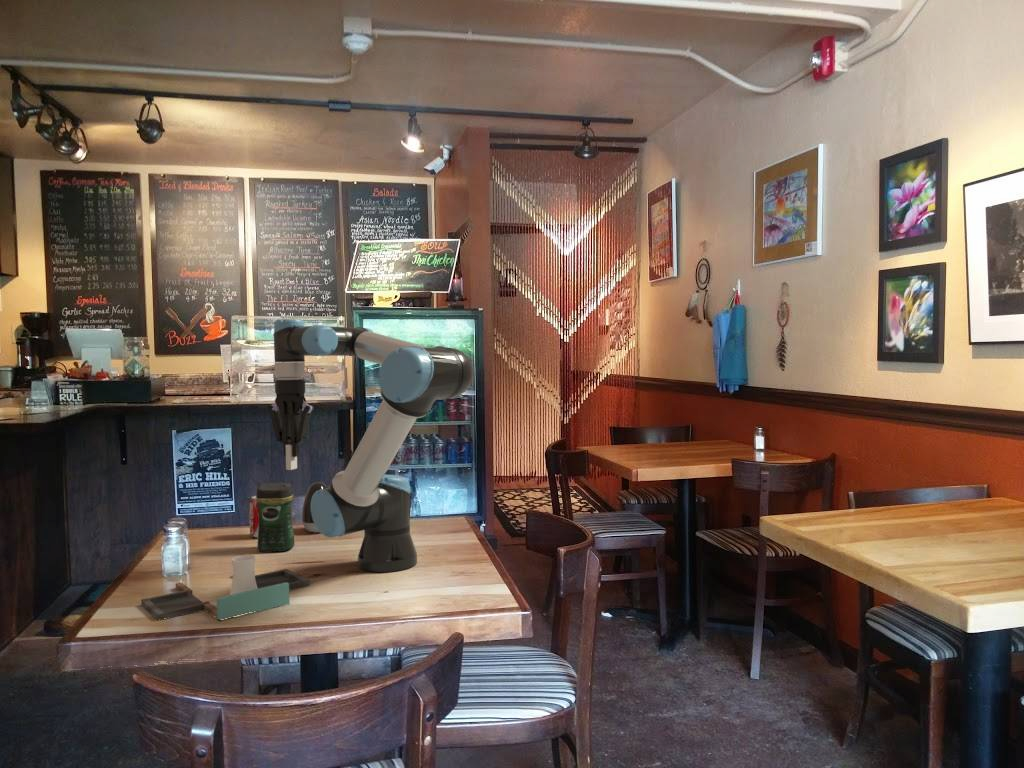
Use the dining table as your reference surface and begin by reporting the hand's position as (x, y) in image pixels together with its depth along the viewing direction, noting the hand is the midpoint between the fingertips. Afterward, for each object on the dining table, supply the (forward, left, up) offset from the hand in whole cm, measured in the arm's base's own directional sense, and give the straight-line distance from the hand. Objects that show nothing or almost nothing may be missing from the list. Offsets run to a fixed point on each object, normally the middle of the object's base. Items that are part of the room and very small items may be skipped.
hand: (291, 468), depth 185 cm
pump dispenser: (+12, -31, -25) cm, 41 cm away
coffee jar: (+12, -9, -25) cm, 29 cm away
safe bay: (-15, +34, -24) cm, 45 cm away
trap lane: (-2, +27, -24) cm, 36 cm away
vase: (-9, +31, -25) cm, 40 cm away
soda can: (+25, -20, -25) cm, 40 cm away
